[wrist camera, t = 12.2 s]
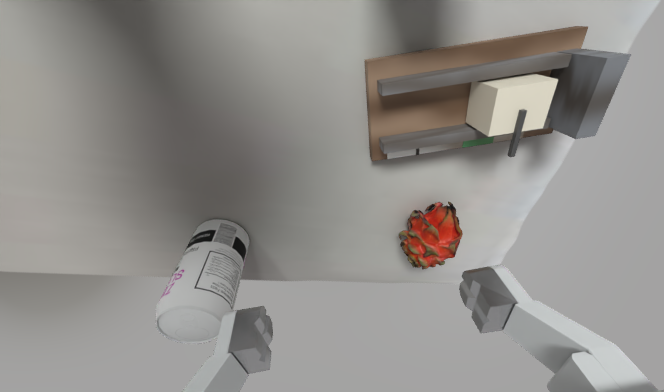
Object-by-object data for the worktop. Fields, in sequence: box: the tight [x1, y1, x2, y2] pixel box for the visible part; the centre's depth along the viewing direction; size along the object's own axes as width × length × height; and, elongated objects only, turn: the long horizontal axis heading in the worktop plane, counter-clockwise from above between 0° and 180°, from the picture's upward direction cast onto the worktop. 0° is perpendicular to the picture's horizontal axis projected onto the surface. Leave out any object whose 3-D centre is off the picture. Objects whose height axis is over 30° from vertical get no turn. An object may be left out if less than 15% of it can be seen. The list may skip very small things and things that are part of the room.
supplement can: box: [156, 219, 250, 344], centre depth 36 cm, size 8×8×15 cm
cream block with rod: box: [466, 73, 558, 157], centre depth 30 cm, size 8×6×6 cm
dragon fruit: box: [399, 202, 462, 269], centre depth 41 cm, size 8×8×12 cm
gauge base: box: [365, 26, 631, 161], centre depth 30 cm, size 12×24×8 cm, turn 98°
